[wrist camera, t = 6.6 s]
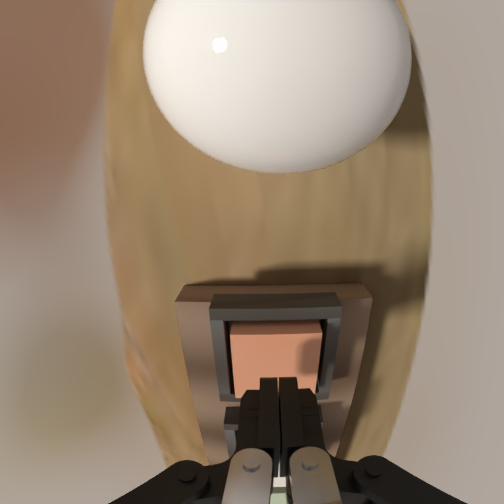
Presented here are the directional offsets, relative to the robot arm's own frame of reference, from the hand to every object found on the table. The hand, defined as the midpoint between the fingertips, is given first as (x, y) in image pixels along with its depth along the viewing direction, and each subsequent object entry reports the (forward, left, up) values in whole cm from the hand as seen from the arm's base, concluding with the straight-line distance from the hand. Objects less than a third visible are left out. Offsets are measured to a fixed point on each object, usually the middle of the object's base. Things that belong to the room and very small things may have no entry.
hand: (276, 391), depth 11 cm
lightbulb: (-12, 0, -6) cm, 13 cm away
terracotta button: (0, 0, -4) cm, 4 cm away
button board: (+8, 0, -6) cm, 10 cm away
